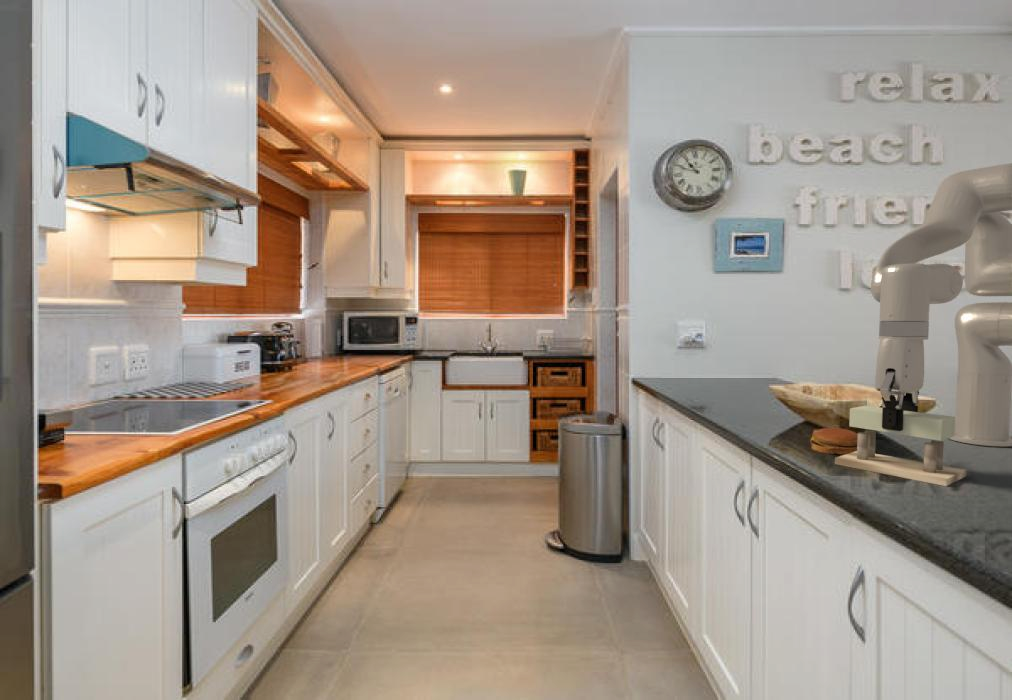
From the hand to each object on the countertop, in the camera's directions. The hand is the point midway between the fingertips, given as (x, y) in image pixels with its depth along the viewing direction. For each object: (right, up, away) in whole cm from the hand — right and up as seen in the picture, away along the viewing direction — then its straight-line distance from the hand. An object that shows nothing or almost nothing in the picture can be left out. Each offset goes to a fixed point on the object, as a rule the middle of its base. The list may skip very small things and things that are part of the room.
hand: (899, 426), depth 106 cm
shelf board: (0, -1, 0) cm, 1 cm away
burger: (-3, -8, +16) cm, 18 cm away
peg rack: (0, -8, 0) cm, 8 cm away
